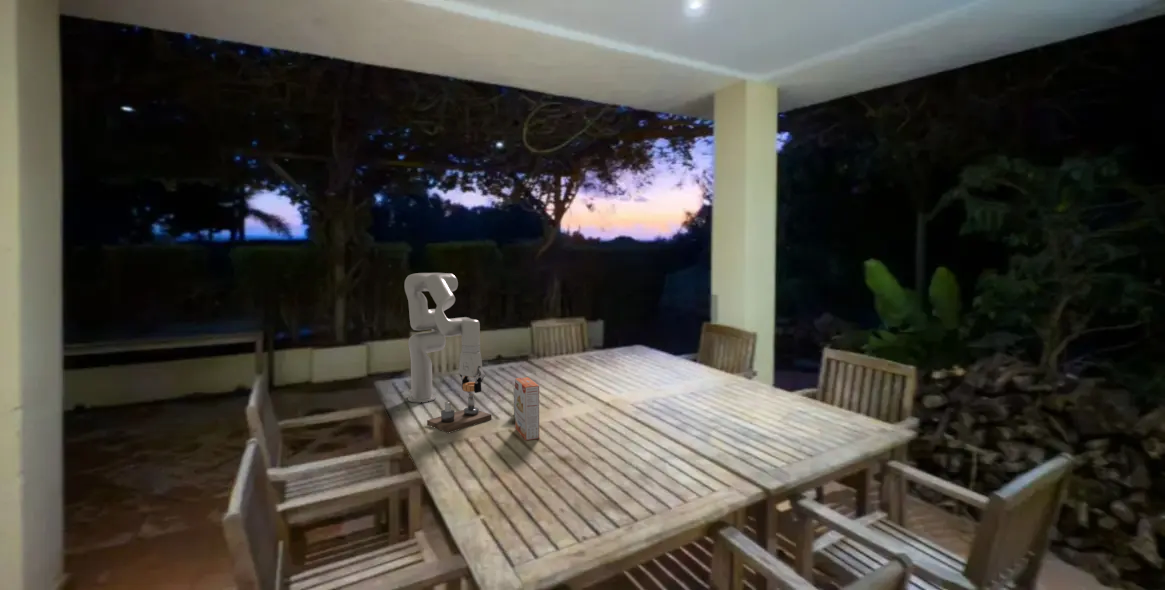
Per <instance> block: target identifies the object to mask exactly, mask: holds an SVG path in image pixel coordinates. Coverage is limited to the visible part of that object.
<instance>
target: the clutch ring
mask: <svg viewBox="0 0 1165 590" xmlns="http://www.w3.org/2000/svg"><path fill="white" fill-rule="evenodd" d="M474 383H475V381H469V382H467V383H464V384H463V390H462V391H463V392H467V393H469V392H474ZM474 393H475V392H474Z"/></svg>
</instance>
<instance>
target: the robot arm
mask: <svg viewBox="0 0 1165 590" xmlns="http://www.w3.org/2000/svg"><path fill="white" fill-rule="evenodd" d="M458 281H459V280H458V278H457V277H456V276H455V275H454V274H453V273H450V272H448V273H447V272H446V273H445V272H418V273H412V274H409V275H407V277H406V278H405V280H404V292H405V295H406V299H407V300H408V301H407V302H408V311H409V314H408V315H409V321H410V322H409V325H410V327H411V329H412V330H413V331H426V330H431V331H430V332H419V333H418V332H417V333H415V334H413V335H411V336H410V337H409V338H408V342H407V343H408V344H407V345H408V349H409V350H408V351H409V356H410V378H411V379H410V387H411V388H410V389H408V392H409V393H410V395H409V396H408V398H407V401H409V402H411V403H419V404H421V402H422V403H428V401H429V402H432V401H435V400H436V398H437V396H436V394H433V364H432V363H433V362H432V361H433V360H431V357H430V356H428V354H429V353H433V352H439V351H442V350H444V349H445V347H446V344H447V339H446V337H447V338H448V337H450V338H451V337H455V336H461V352H460V355H459V366H458V370H457V371H458V373H459V376H460V380H461V386H462V387H461V390H462V391H463V384H464V383H467V382H470V380H469V378H473V381H474V382H475V383H474V393H475V394H478V393H481V392H482V383H483V381H484V378H485V377H486V374H485V372H484V370H483V362H482V361H483V360H482V354H481V333H480V331H481V330H480V329H481V326H480V325H481V324H480V321H479V320H478V319H474V318H470V317H469V316H468V317H467V316H464V317H463V316H462V317H455V318H454V317H453V318H452V317H451V318H448V317H447V316H446V314H445V311H446V310H448V309H450V308H451V307H452V306H453V305H454V304H455V302H456V297H455V295H454V293H453V292H455V291H456V290H457V289H458V286H459V282H458ZM423 292H429V294H430V296H431V297H432V300H433V301H434V303H435V304H436V307H435V308H430V309H429V307H428V299H427V297H426V296H425V294H424V293H423Z"/></svg>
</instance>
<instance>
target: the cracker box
mask: <svg viewBox="0 0 1165 590" xmlns="http://www.w3.org/2000/svg"><path fill="white" fill-rule="evenodd" d="M514 387H515V416H514V417H515V419H514V420H515V430H516V431H517V432H518V433H519V434H520V436H522V438H523V439H524V441H531V440H538V439H540V385H539V384H537V383H536V382H535V381H534V380H532V379H531V378H530V377H518V378H517V377H516V378H514Z"/></svg>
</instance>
